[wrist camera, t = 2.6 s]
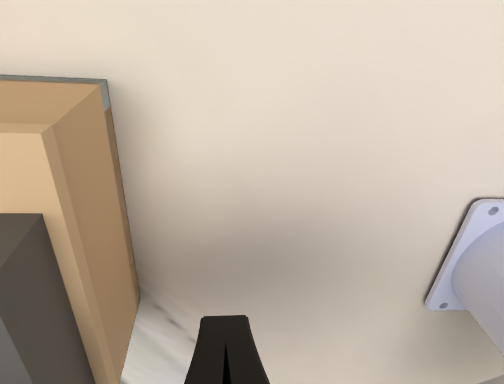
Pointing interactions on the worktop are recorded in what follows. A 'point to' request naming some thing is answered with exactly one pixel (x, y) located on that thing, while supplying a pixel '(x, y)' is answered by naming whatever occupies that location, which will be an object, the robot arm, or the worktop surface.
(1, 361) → the lid
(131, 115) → the worktop surface
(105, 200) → the box
